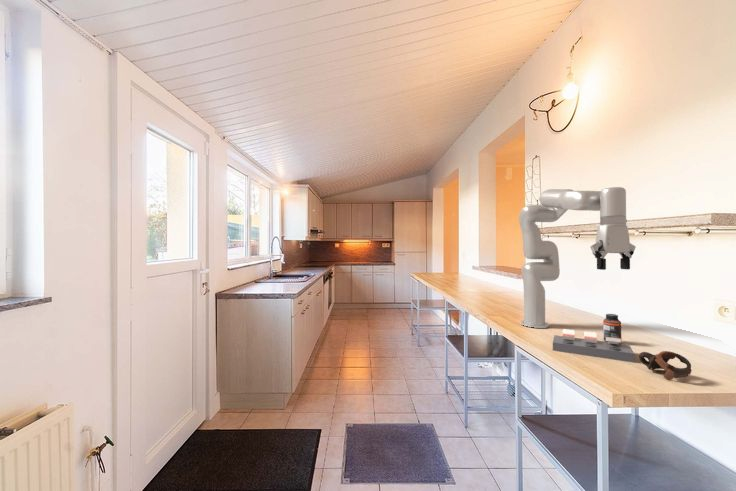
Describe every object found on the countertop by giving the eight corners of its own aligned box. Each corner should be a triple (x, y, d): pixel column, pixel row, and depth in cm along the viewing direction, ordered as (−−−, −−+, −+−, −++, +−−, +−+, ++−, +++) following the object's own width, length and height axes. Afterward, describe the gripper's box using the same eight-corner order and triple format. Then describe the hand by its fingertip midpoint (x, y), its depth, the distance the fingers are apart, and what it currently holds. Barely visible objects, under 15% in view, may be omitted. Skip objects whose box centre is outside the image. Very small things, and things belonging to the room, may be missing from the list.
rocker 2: (606, 342, 122) (605, 337, 122) (619, 344, 120) (619, 338, 120) (607, 343, 117) (607, 336, 118) (621, 344, 115) (620, 338, 115)
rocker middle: (583, 336, 126) (583, 331, 126) (596, 337, 124) (596, 332, 124) (584, 343, 122) (584, 338, 121) (597, 345, 119) (597, 339, 119)
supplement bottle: (615, 340, 135) (615, 313, 135) (625, 344, 129) (625, 316, 129) (600, 339, 136) (599, 313, 136) (609, 344, 130) (609, 316, 130)
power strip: (554, 342, 132) (554, 334, 132) (629, 352, 119) (629, 343, 119) (552, 350, 122) (552, 341, 122) (634, 362, 109) (634, 352, 109)
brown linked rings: (684, 374, 100) (695, 356, 96) (683, 397, 94) (695, 378, 90) (635, 357, 107) (643, 339, 103) (632, 376, 101) (640, 358, 97)
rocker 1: (562, 333, 130) (562, 328, 130) (574, 334, 128) (574, 329, 128) (562, 340, 125) (562, 335, 125) (574, 342, 123) (574, 337, 123)
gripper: (624, 223, 121) (624, 268, 121) (583, 222, 119) (583, 269, 119) (644, 221, 114) (644, 269, 114) (600, 220, 111) (600, 270, 111)
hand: (613, 269), depth 116 cm, fingers open, 9 cm apart
